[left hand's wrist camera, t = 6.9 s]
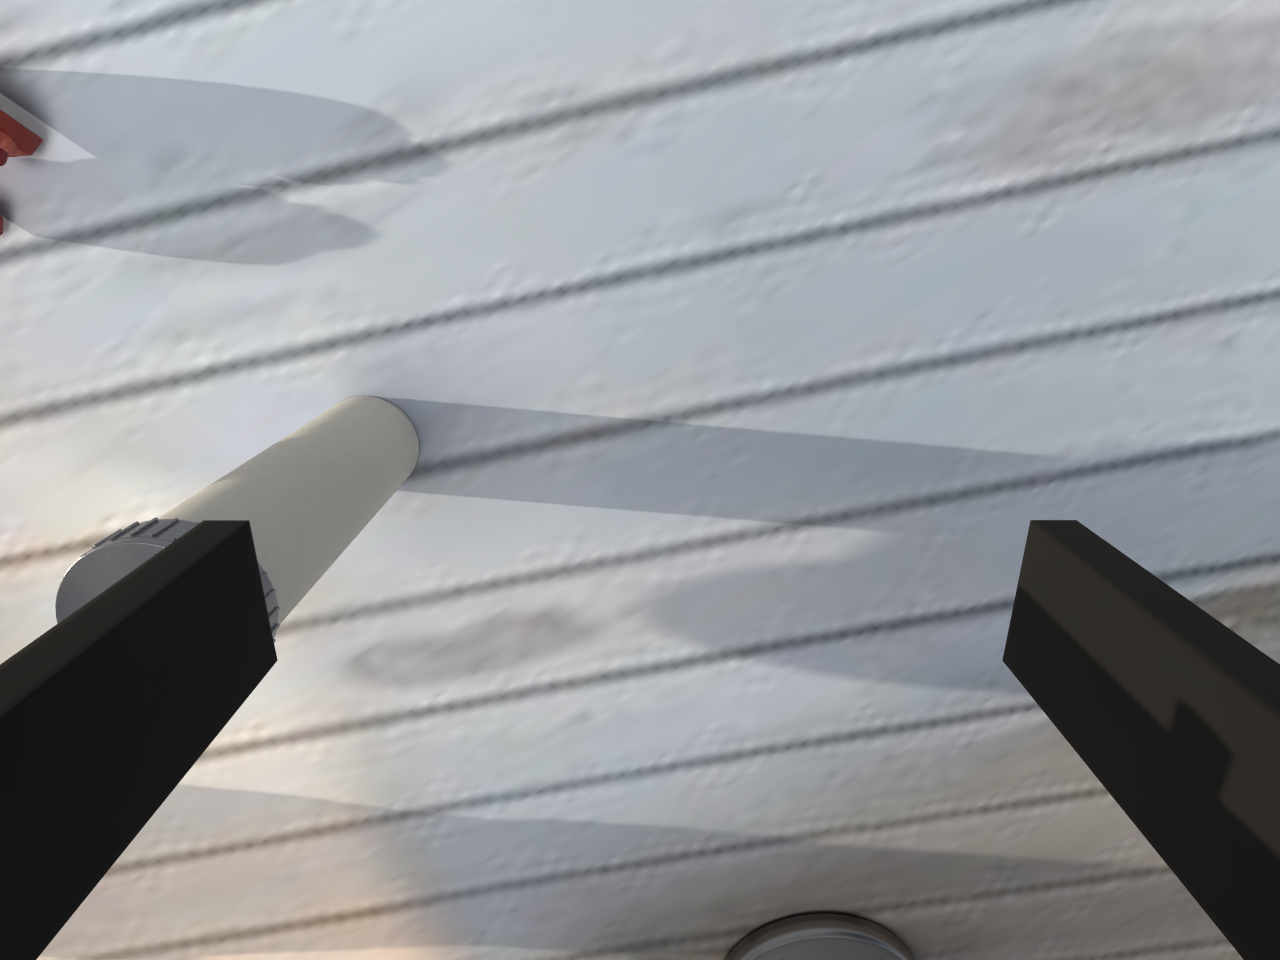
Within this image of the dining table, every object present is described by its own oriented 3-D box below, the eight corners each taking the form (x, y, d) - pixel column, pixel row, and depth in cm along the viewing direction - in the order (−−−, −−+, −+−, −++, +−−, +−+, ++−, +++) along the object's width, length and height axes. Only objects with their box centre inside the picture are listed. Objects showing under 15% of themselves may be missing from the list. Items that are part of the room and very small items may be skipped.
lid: (64, 525, 23) (20, 549, 22) (252, 507, 23) (222, 530, 22) (129, 685, 26) (93, 718, 24) (302, 670, 25) (278, 703, 24)
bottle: (309, 400, 40) (47, 551, 22) (408, 391, 40) (222, 535, 22) (334, 493, 42) (109, 701, 24) (428, 484, 42) (272, 687, 24)
